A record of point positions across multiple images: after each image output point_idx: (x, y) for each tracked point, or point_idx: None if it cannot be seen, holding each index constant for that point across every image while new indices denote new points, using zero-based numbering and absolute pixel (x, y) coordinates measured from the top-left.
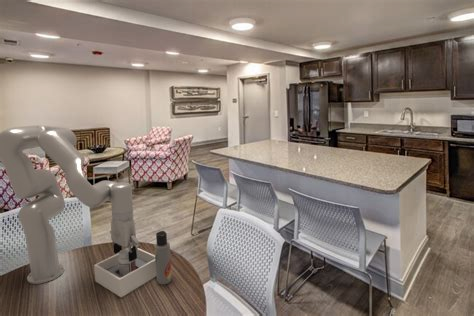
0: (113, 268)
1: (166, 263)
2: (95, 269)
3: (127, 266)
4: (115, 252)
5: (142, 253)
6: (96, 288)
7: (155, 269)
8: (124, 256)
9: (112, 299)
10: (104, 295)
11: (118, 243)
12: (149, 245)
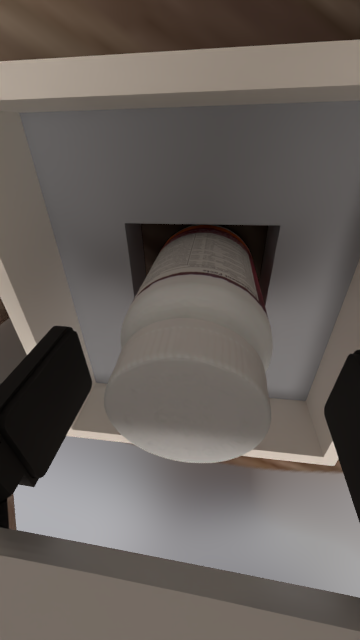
0: (329, 252)
1: None
2: None
3: (137, 293)
4: (355, 364)
5: None
6: (309, 15)
7: None
8: (127, 351)
9: (56, 29)
10: (153, 7)
11: (112, 634)
12: (337, 467)
